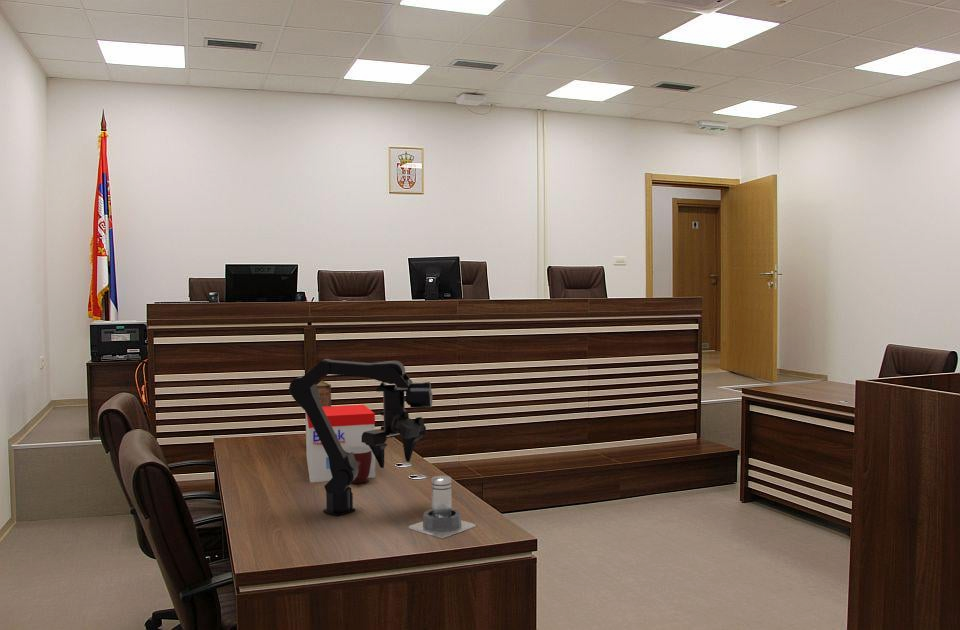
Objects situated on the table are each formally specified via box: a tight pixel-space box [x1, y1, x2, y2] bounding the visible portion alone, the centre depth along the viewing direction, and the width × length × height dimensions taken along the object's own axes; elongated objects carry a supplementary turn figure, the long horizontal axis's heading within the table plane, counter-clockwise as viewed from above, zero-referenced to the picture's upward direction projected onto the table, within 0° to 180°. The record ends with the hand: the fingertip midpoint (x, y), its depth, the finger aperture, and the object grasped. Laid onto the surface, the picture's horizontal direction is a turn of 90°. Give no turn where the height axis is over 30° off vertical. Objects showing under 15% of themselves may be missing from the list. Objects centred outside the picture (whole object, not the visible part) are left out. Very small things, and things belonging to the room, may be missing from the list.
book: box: [317, 380, 332, 407], centre depth 283 cm, size 16×6×25 cm, turn 25°
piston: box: [431, 475, 452, 518], centre depth 191 cm, size 5×5×12 cm
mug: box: [346, 448, 372, 485], centre depth 234 cm, size 11×8×10 cm
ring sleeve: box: [408, 507, 476, 539], centre depth 191 cm, size 12×12×4 cm
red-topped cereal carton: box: [305, 404, 376, 483], centre depth 255 cm, size 21×35×21 cm, turn 15°
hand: (395, 464), depth 204 cm, fingers open, 9 cm apart
